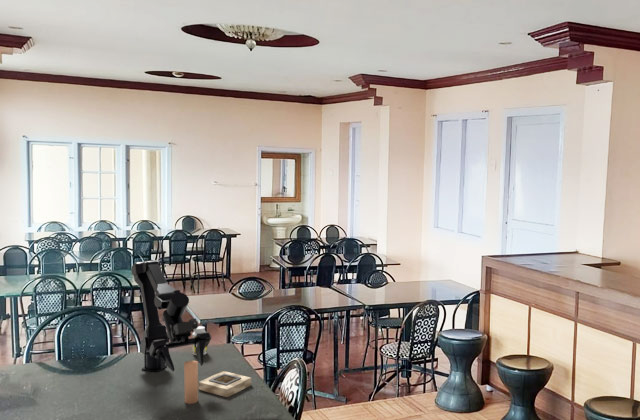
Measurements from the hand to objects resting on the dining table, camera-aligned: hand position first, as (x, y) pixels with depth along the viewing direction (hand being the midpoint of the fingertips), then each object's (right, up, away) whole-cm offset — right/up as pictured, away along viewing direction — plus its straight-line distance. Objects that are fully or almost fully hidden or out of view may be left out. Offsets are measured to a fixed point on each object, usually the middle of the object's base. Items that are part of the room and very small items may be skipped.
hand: (188, 367), depth 177 cm
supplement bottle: (-6, -7, +44) cm, 45 cm away
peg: (+1, -10, -1) cm, 10 cm away
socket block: (+10, -9, +10) cm, 17 cm away
